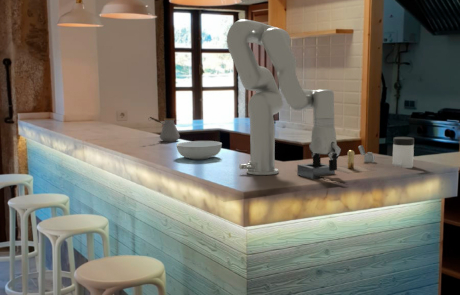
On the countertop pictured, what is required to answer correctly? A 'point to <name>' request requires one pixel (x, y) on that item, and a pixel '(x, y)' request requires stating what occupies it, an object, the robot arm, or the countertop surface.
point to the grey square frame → (313, 170)
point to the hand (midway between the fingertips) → (324, 168)
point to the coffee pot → (168, 130)
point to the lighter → (367, 155)
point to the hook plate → (356, 169)
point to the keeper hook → (350, 159)
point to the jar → (403, 151)
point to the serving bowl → (199, 149)
